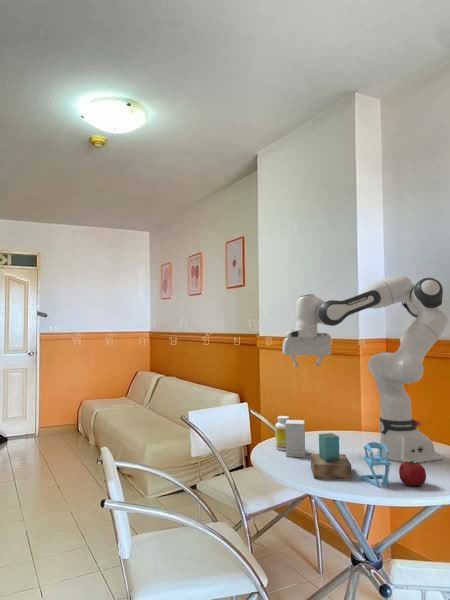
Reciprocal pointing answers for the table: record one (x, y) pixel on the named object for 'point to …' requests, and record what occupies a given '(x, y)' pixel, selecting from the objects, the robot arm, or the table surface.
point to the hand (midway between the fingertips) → (307, 366)
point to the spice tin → (329, 447)
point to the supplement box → (295, 438)
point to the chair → (376, 463)
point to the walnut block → (331, 468)
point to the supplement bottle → (281, 433)
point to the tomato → (412, 473)
